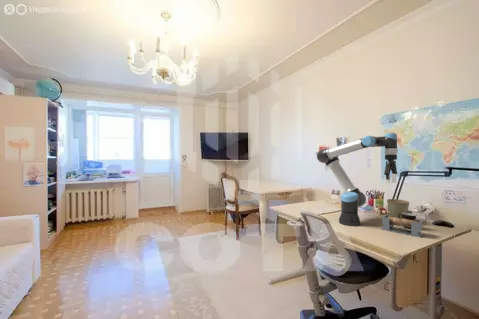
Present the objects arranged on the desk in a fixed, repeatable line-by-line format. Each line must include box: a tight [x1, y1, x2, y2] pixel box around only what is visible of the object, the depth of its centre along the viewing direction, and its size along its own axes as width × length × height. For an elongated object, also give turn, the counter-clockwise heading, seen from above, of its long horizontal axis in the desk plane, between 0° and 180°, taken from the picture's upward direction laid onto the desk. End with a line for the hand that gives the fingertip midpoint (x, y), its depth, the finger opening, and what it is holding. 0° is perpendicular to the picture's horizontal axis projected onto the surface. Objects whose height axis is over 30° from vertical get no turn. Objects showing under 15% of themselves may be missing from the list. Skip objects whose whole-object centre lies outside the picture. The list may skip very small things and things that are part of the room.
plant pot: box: [386, 198, 410, 219], centre depth 186 cm, size 15×15×16 cm
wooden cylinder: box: [388, 216, 419, 228], centre depth 158 cm, size 17×5×5 cm, turn 41°
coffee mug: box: [399, 212, 417, 230], centre depth 169 cm, size 12×9×10 cm
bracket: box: [381, 214, 424, 238], centre depth 159 cm, size 22×8×9 cm, turn 41°
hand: (390, 183), depth 171 cm, fingers open, 13 cm apart
